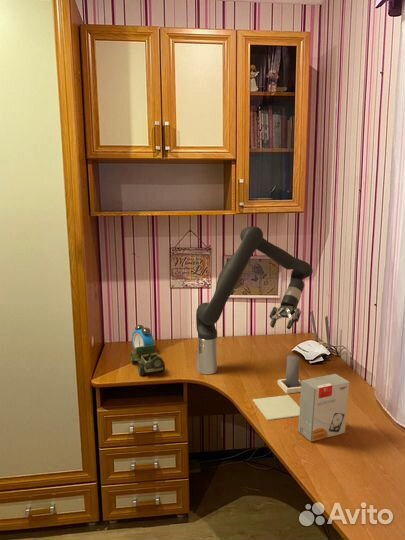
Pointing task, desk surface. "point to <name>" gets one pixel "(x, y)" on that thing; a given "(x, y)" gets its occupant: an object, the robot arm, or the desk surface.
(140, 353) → the toy jeep
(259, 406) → the pale sage mat
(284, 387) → the off-white collar
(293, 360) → the grey cylinder
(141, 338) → the alarm clock
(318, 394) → the hard drive box
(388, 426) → the desk surface
